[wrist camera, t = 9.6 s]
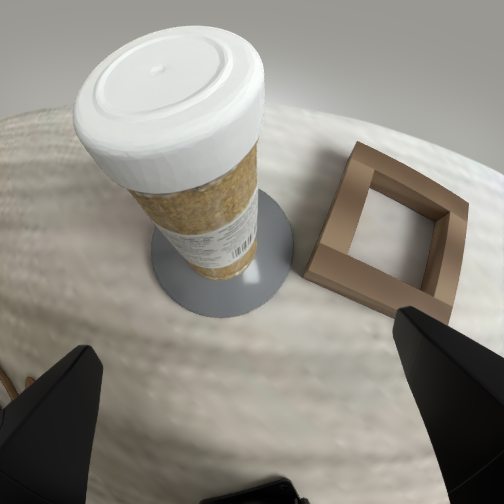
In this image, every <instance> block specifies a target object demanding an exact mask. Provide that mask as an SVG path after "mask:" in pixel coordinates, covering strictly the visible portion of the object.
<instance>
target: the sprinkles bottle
mask: <svg viewBox="0 0 504 504" xmlns="http://www.w3.org/2000/svg"><path fill="white" fill-rule="evenodd" d="M264 95H265V94H264V68H263V64H262V61H261V58H260V56H259V54H258V53H257V52H256V50H255V49H254V47H253V46H252V45H251V44H250V43H249V42H247V41H246V40H245V39H243V38H242V37H240V36H238V35H236V34H234V33H232V32H229V31H226V30H223V29H220V28H215V27H208V26H181V27H174V28H168V29H164V30H160V31H156V32H153V33H150V34H147V35H145V36H142V37H140V38H137V39H135V40H133V41H131V42H130V43H127V44H126V45H124V46H122V47H121V48H119V49H118V50H116V51H115V52H113V53H112V54H110V55H109V56H108V57H106V58H105V59H104V60H103V61H102V62H101V63H100V64H99V65H98V66H97V67H96V68H95V69H94V70H93V71H92V72H91V74H90V75H89V76H88V77H87V79H86V80H85V81H84V83H83V85H82V87H81V88H80V90H79V93H78V95H77V97H76V101H75V104H74V109H73V123H74V129H75V131H76V134H77V136H78V138H79V139H80V141H81V143H82V144H83V146H84V147H85V148H86V150H87V151H88V152H89V154H90V155H91V156H92V157H93V159H94V160H95V161H96V163H97V164H98V165H99V166H100V168H101V169H102V170H103V171H104V172H105V173H106V174H107V176H108V177H109V178H110V179H112V180H113V181H114V182H116V183H117V184H119V185H120V186H122V187H124V188H127V189H128V191H129V192H130V193H131V194H132V195H133V197H134V198H135V199H136V200H137V201H138V202H139V204H140V205H141V206H142V208H143V210H144V211H145V213H146V215H147V216H148V217H149V218H150V219H151V221H152V222H153V223H154V224H155V225H156V227H157V228H158V229H159V230H160V231H161V232H162V233H163V234H164V236H165V237H166V238H167V239H168V240H169V241H170V243H171V244H172V245H173V246H174V247H175V248H176V250H177V251H178V252H179V253H180V254H181V255H182V256H183V257H184V258H185V259H186V260H187V261H188V263H189V265H190V267H191V268H193V269H194V270H195V271H196V272H197V273H198V274H199V275H201V276H203V277H204V278H208V279H210V280H214V281H215V280H227V279H231V278H234V277H236V276H238V275H240V274H241V273H243V272H244V271H245V269H247V268H248V267H249V265H250V263H251V262H252V261H253V259H254V257H255V253H256V249H257V239H256V232H257V213H258V181H259V177H258V168H257V157H256V155H257V145H256V144H257V142H258V139H259V135H260V133H261V130H262V126H263V121H264V97H265V96H264Z"/></svg>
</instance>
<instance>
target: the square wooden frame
mask: <svg viewBox="0 0 504 504" xmlns="http://www.w3.org/2000/svg"><path fill="white" fill-rule="evenodd" d="M369 187H370V188H372V189H374V190H376V191H378V192H380V193H382V194H384V195H386V196H388V197H390V198H392V199H394V200H395V201H397V202H399V203H401V204H403V205H405V206H407V207H409V208H410V209H412V210H414V211H416V212H418V213H420V214H421V215H423V216H425V217H427V218H428V219H430V220H432V221H434V222H435V227H434V233H433V238H432V243H431V248H430V253H429V257H428V262H427V266H426V270H425V274H424V278H423V282H422V286H421V290H419V289H417V288H415V287H413V286H411V285H409V284H407V283H405V282H402V281H400V280H398V279H396V278H394V277H392V276H390V275H388V274H386V273H384V272H382V271H380V270H378V269H376V268H373V267H371V266H369V265H367V264H365V263H363V262H361V261H359V260H356V259H354V258H352V257H350V256H348V255H347V254H348V251H349V248H350V245H351V242H352V240H353V237H354V234H355V231H356V228H357V225H358V222H359V219H360V216H361V213H362V210H363V206H364V203H365V200H366V197H367V194H368V190H369ZM468 209H469V203H468V202H466V201H465V200H463V199H462V198H460V197H459V196H457V195H456V194H454V193H452V192H451V191H449V190H448V189H446V188H444V187H443V186H441V185H440V184H438V183H436V182H435V181H433V180H431V179H430V178H428V177H426V176H424V175H423V174H421V173H419V172H417V171H416V170H414V169H412V168H410V167H408V166H406V165H405V164H403V163H401V162H399V161H397V160H395V159H393V158H391V157H389V156H387V155H385V154H383V153H381V152H379V151H377V150H375V149H373V148H371V147H369V146H367V145H365V144H363V143H361V142H358V141H357V142H356V144H355V146H354V148H353V150H352V152H351V155H350V157H349V159H348V162H347V164H346V167H345V170H344V173H343V176H342V178H341V181H340V184H339V186H338V189H337V192H336V194H335V197H334V200H333V202H332V205H331V208H330V210H329V213H328V215H327V218H326V220H325V223H324V225H323V228H322V231H321V233H320V236H319V238H318V240H317V243H316V245H315V248H314V250H313V253H312V255H311V258H310V260H309V262H308V265H307V267H306V269H305V272H304V274H303V277H302V278H304V279H306V280H309V281H311V282H313V283H315V284H318V285H320V286H322V287H324V288H327V289H329V290H331V291H333V292H336V293H338V294H340V295H342V296H344V297H347V298H349V299H351V300H353V301H356V302H358V303H360V304H362V305H365V306H367V307H369V308H371V309H374V310H376V311H378V312H380V313H383V314H385V315H387V316H389V317H392V318H394V319H395V316H396V311H397V309H398V308H400V307H405V306H413V307H415V308H417V309H419V310H420V311H422V312H424V313H426V314H428V315H429V316H431V317H433V318H435V319H437V320H438V321H440V322H442V323H444V324H446V325H447V326H448V323H449V319H450V316H451V312H452V308H453V304H454V300H455V295H456V291H457V286H458V281H459V276H460V271H461V265H462V259H463V253H464V246H465V238H466V230H467V220H468Z"/></svg>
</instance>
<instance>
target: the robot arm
mask: <svg viewBox="0 0 504 504" xmlns="http://www.w3.org/2000/svg"><path fill="white" fill-rule="evenodd" d="M393 338H394V341H395V344H396V347H397V350H398V353H399V356H400V360H401V363H402V366H403V369H404V373H405V376H406V379H407V382H408V384H409V387H410V389H411V391H412V394H413V396H414V399H415V401H416V404H417V406H418V409H419V411H420V414H421V416H422V419H423V421H424V424H425V427H426V429H427V432H428V435H429V438H430V440H431V443H432V446H433V449H434V452H435V455H436V458H437V461H438V464H439V467H440V470H441V473H442V476H443V479H444V483H445V486H446V489H447V493H448V497H449V501H450V504H504V358H503V357H501V356H500V355H498V354H496V353H494V352H493V351H491V350H489V349H488V348H486V347H484V346H482V345H481V344H479V343H477V342H476V341H474V340H472V339H470V338H469V337H467V336H465V335H463V334H462V333H460V332H458V331H456V330H455V329H453V328H451V327H449V326H447V325H446V324H444V323H442V322H440V321H438V320H437V319H435V318H433V317H431V316H429V315H428V314H426V313H424V312H422V311H420V310H419V309H417V308H415V307H413V306H405V307H400V308H398V309H397V311H396V316H395V321H394V326H393ZM102 375H103V365H102V362H101V361H100V359H99V358H98V356H97V354H96V353H95V351H94V349H93V348H92V347H91V346H90V345H78V346H77V347H76V348H74V349H73V350H72V351H71V352H69V353H68V354H67V355H66V356H65V357H63V358H62V359H61V360H60V361H59V362H57V363H56V364H55V365H54V366H53V367H51V368H50V369H49V370H48V371H47V372H45V373H44V374H43V375H42V376H41V377H39V378H38V379H37V380H36V381H35V382H34V383H32V384H31V385H30V386H29V387H28V388H27V389H25V390H24V391H23V392H22V393H21V394H20V395H18V396H17V397H16V398H15V399H14V400H13V401H12V402H10V403H9V404H8V405H7V406H6V408H4V409H2V410H1V411H0V504H85V503H86V491H87V482H88V473H89V465H90V458H91V451H92V445H93V438H94V433H95V427H96V422H97V416H98V410H99V401H100V392H101V383H102ZM283 484H288V485H287V486H286V487H282V486H281V485H283ZM199 504H310V503H309V501H308V499H307V498H304V497H303V498H301V499H300V497H299V495H298V493H297V491H296V490H295V488H294V486H293V484H292V482H291V481H290V480H289V479H286V478H284V479H280V480H277V481H274V482H271V483H268V484H265V485H261V486H258V487H255V488H251V489H248V490H244V491H240V492H237V493H233V494H229V495H224V496H220V497H215V498H211V499H206V500H202V501H200V503H199Z"/></svg>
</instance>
